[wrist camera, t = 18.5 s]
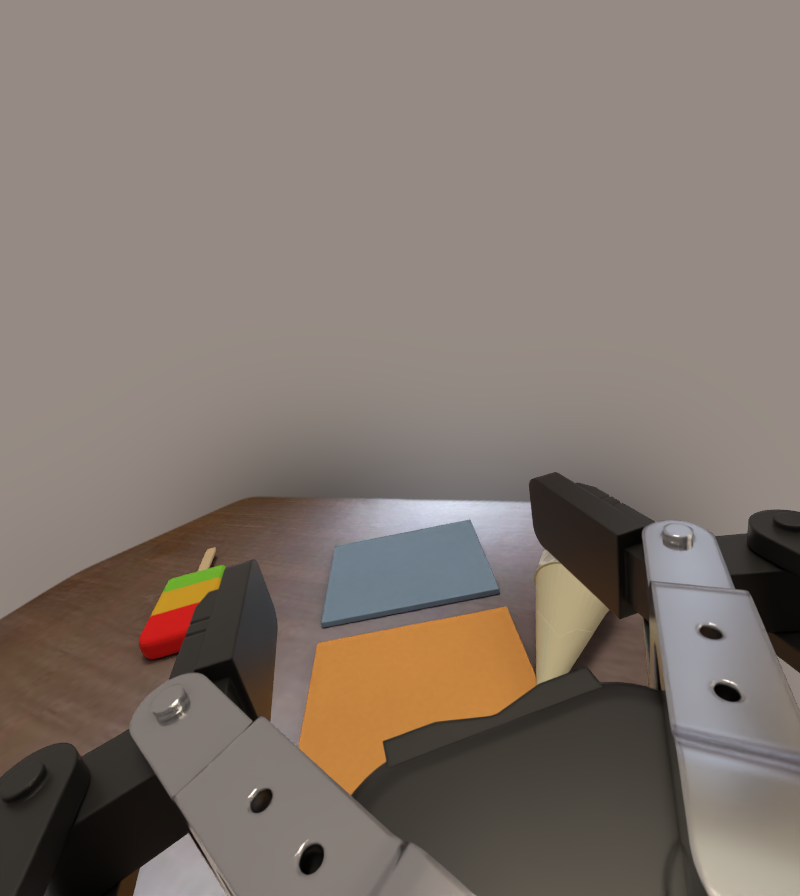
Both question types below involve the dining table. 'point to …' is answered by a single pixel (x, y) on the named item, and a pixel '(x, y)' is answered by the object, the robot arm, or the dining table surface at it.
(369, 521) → the dining table surface
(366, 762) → the caramel pad
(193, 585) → the popsicle
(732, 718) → the robot arm
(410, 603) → the slate pad
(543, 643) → the ice cream cone
